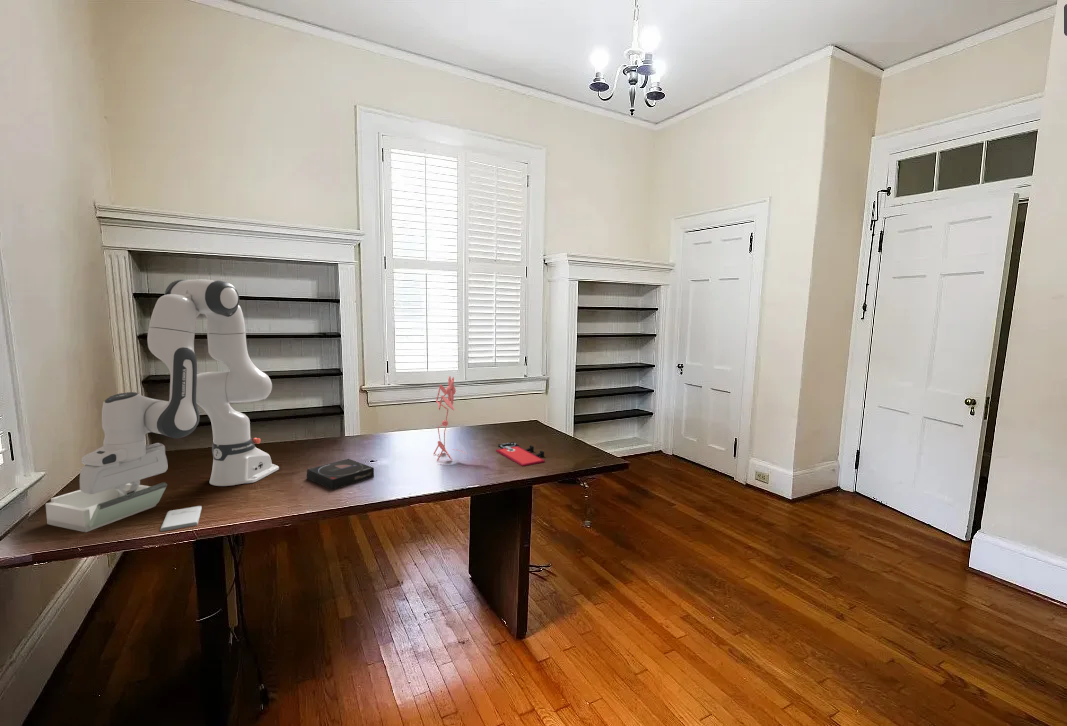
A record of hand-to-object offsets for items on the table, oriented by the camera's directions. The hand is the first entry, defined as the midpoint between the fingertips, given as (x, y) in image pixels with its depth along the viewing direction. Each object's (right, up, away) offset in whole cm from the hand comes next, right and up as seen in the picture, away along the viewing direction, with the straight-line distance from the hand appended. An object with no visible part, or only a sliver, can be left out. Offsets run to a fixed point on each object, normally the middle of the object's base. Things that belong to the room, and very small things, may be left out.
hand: (128, 497), depth 130 cm
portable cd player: (+44, -5, +38) cm, 59 cm away
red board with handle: (+109, -3, +73) cm, 132 cm away
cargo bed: (-10, -6, +3) cm, 12 cm away
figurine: (+80, -2, +67) cm, 104 cm away
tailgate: (-2, -5, +1) cm, 5 cm away
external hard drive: (+14, -8, +2) cm, 16 cm away
